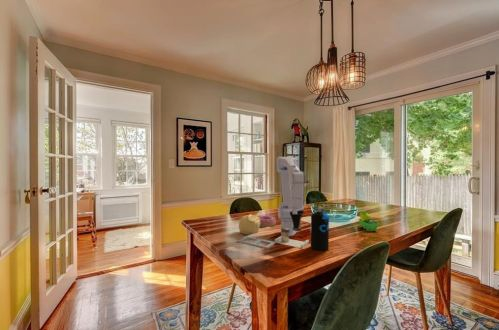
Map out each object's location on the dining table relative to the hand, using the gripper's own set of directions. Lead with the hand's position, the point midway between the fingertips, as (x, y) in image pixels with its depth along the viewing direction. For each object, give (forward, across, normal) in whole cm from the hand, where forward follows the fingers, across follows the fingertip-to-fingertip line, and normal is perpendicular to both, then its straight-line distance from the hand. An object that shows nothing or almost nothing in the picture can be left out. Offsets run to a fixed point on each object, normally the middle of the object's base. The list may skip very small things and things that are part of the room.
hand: (296, 226), depth 112 cm
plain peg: (+8, -3, -6) cm, 11 cm away
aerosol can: (+10, 0, +10) cm, 15 cm away
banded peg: (+1, 0, 0) cm, 1 cm away
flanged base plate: (+10, -3, -3) cm, 11 cm away
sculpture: (+10, -14, -28) cm, 33 cm away
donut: (+10, -36, -25) cm, 45 cm away
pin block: (+10, +4, -18) cm, 21 cm away
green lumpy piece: (+10, -50, +36) cm, 62 cm away
